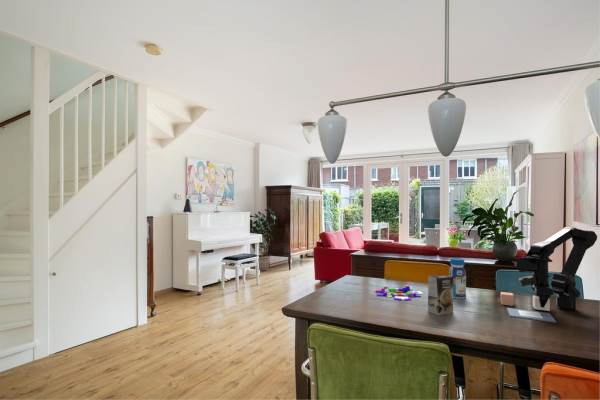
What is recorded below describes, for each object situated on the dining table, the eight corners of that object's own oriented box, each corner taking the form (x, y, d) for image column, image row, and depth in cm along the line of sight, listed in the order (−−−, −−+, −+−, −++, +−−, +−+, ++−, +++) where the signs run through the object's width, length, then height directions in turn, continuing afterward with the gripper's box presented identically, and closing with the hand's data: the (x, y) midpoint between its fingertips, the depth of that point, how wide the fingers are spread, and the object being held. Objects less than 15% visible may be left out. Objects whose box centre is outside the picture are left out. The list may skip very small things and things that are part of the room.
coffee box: (438, 315, 141) (438, 278, 142) (427, 311, 147) (427, 275, 147) (454, 313, 145) (453, 276, 145) (442, 309, 151) (442, 273, 151)
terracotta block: (512, 303, 161) (512, 293, 161) (513, 305, 156) (513, 295, 157) (500, 301, 163) (500, 291, 163) (501, 304, 159) (501, 294, 159)
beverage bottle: (450, 293, 178) (450, 257, 178) (467, 296, 173) (467, 258, 173) (447, 297, 171) (446, 259, 171) (464, 300, 166) (464, 260, 166)
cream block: (547, 307, 152) (546, 296, 152) (549, 310, 147) (549, 299, 147) (532, 305, 154) (532, 295, 154) (534, 309, 149) (534, 298, 149)
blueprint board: (549, 314, 144) (549, 312, 144) (556, 322, 133) (556, 321, 133) (506, 308, 151) (506, 307, 151) (509, 316, 141) (509, 315, 141)
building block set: (380, 300, 165) (380, 292, 165) (374, 290, 186) (374, 282, 186) (430, 302, 163) (430, 293, 163) (418, 291, 184) (418, 283, 184)
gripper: (517, 266, 163) (517, 298, 162) (522, 273, 146) (523, 308, 146) (544, 268, 158) (544, 301, 157) (553, 276, 141) (554, 312, 141)
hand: (541, 305), depth 150 cm, fingers closed on cream block, 5 cm apart
